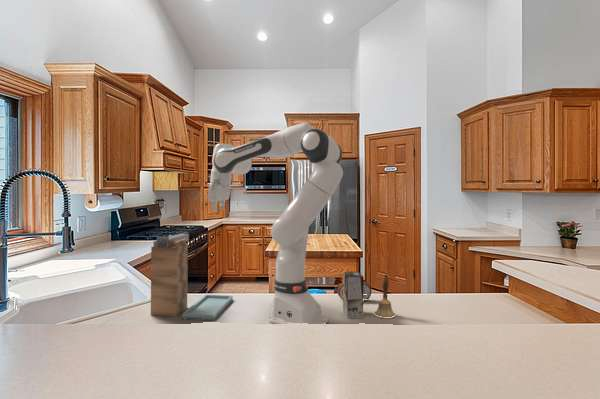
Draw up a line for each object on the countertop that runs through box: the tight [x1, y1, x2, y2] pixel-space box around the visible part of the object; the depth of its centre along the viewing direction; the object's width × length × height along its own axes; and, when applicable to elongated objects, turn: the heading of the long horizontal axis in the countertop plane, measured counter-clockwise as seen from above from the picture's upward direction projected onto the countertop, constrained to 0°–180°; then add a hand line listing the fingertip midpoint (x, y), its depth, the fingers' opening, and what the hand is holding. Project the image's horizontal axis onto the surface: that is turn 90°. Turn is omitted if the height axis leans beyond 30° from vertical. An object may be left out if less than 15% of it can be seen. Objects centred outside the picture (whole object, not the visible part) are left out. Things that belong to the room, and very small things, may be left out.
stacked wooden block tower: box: [150, 239, 189, 317], centre depth 133 cm, size 10×10×28 cm
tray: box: [181, 294, 233, 321], centre depth 137 cm, size 24×12×2 cm, turn 175°
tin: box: [337, 281, 372, 301], centre depth 151 cm, size 15×3×8 cm, turn 93°
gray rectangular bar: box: [156, 233, 190, 248], centre depth 137 cm, size 20×4×4 cm, turn 175°
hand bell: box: [374, 273, 396, 317], centre depth 134 cm, size 8×8×16 cm
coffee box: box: [342, 271, 365, 319], centre depth 134 cm, size 9×6×16 cm
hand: (217, 210), depth 152 cm, fingers open, 8 cm apart
